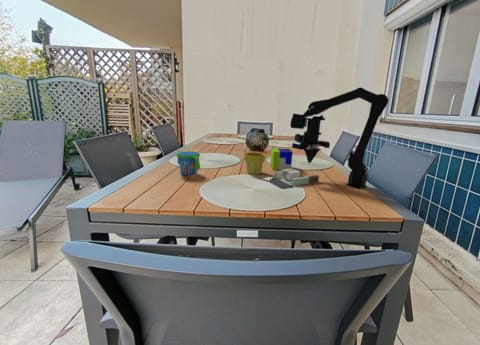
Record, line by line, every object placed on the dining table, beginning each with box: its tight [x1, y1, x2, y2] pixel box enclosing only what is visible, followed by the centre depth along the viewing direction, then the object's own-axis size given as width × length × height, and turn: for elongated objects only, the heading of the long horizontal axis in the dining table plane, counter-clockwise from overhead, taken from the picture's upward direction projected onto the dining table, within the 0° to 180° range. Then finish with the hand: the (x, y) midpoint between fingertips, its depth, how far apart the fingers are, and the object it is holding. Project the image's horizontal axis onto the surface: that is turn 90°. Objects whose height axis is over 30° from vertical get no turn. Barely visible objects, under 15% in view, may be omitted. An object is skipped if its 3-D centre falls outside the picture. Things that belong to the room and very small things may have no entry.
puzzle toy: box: [270, 147, 293, 171], centre depth 137 cm, size 10×10×10 cm
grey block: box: [280, 168, 301, 184], centre depth 114 cm, size 6×6×5 cm
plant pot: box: [243, 151, 266, 175], centre depth 124 cm, size 10×10×10 cm
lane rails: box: [274, 168, 320, 186], centre depth 116 cm, size 13×15×3 cm
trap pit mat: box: [266, 176, 294, 189], centre depth 111 cm, size 16×6×1 cm, turn 28°
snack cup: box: [176, 150, 201, 176], centre depth 118 cm, size 16×10×10 cm
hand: (309, 162), depth 118 cm, fingers closed
